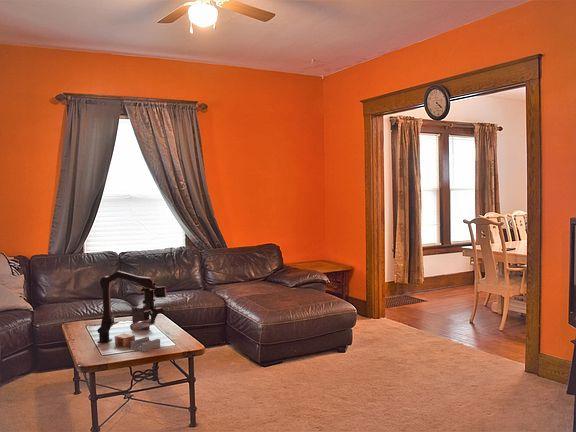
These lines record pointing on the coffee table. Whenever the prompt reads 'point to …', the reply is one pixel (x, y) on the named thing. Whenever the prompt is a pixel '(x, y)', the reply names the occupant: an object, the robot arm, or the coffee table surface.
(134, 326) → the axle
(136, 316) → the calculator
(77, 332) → the coffee table surface
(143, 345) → the v block
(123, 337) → the orange brown notched block
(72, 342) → the coffee table surface
